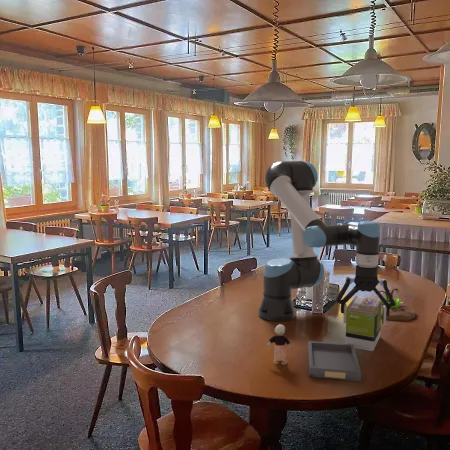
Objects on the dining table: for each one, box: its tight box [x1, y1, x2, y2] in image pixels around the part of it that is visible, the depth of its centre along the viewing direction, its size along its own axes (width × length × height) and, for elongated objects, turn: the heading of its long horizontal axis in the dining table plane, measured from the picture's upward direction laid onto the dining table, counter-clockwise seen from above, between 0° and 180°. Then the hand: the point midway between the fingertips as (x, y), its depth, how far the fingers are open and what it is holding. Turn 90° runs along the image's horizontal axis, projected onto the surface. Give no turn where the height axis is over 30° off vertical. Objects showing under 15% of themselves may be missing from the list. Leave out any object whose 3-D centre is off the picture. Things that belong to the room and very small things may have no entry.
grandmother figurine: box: [266, 323, 293, 366], centre depth 143 cm, size 8×4×13 cm, turn 88°
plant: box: [378, 288, 416, 322], centre depth 192 cm, size 20×20×11 cm
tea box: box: [344, 295, 382, 352], centre depth 161 cm, size 15×10×15 cm, turn 152°
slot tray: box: [307, 340, 362, 382], centre depth 143 cm, size 15×20×3 cm
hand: (364, 323), depth 161 cm, fingers open, 13 cm apart
